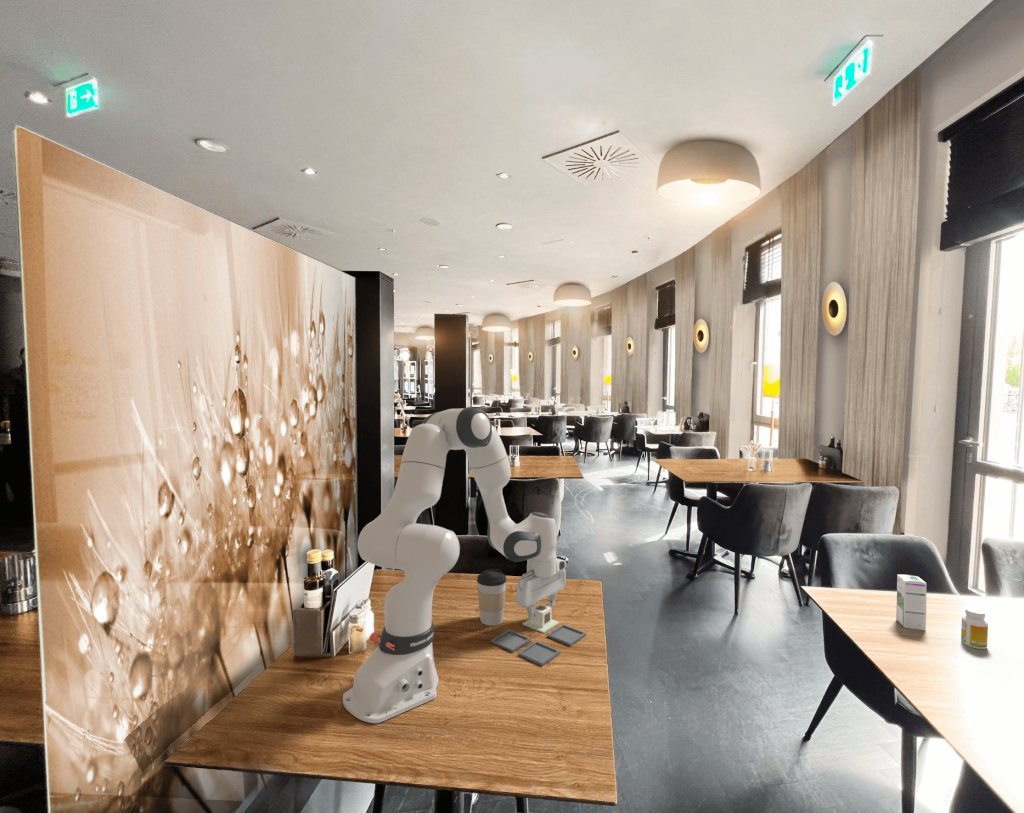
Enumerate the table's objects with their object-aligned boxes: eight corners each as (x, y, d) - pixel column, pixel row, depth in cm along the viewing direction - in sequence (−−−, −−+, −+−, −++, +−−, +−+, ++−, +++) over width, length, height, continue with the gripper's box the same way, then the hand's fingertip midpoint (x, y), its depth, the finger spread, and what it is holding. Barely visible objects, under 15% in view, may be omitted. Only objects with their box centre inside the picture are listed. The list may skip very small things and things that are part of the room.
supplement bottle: (991, 648, 138) (993, 613, 137) (978, 651, 136) (980, 616, 136) (968, 638, 143) (970, 605, 143) (956, 641, 141) (957, 607, 141)
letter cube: (542, 628, 147) (542, 612, 147) (530, 623, 150) (530, 608, 150) (551, 622, 151) (551, 607, 151) (539, 618, 154) (539, 603, 153)
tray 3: (570, 646, 138) (570, 643, 138) (547, 636, 143) (547, 634, 143) (586, 635, 144) (586, 632, 144) (563, 626, 149) (563, 624, 149)
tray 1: (512, 652, 134) (512, 649, 134) (490, 642, 140) (490, 639, 139) (530, 641, 140) (531, 638, 140) (509, 632, 146) (509, 629, 146)
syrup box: (926, 631, 147) (928, 582, 147) (902, 627, 149) (904, 580, 149) (917, 622, 153) (919, 575, 152) (894, 619, 155) (896, 573, 154)
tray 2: (542, 666, 128) (542, 663, 128) (518, 655, 133) (518, 652, 133) (560, 653, 134) (560, 650, 134) (536, 643, 139) (536, 640, 139)
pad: (543, 633, 145) (543, 631, 145) (522, 624, 150) (522, 623, 150) (559, 623, 151) (559, 622, 151) (538, 615, 156) (538, 614, 156)
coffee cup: (493, 630, 147) (493, 580, 146) (470, 621, 152) (470, 573, 151) (512, 619, 154) (512, 571, 153) (489, 610, 159) (489, 564, 159)
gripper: (528, 578, 140) (527, 627, 140) (569, 560, 155) (568, 604, 156) (511, 573, 144) (510, 620, 144) (553, 555, 159) (552, 598, 160)
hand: (541, 611), depth 150 cm, fingers open, 8 cm apart
